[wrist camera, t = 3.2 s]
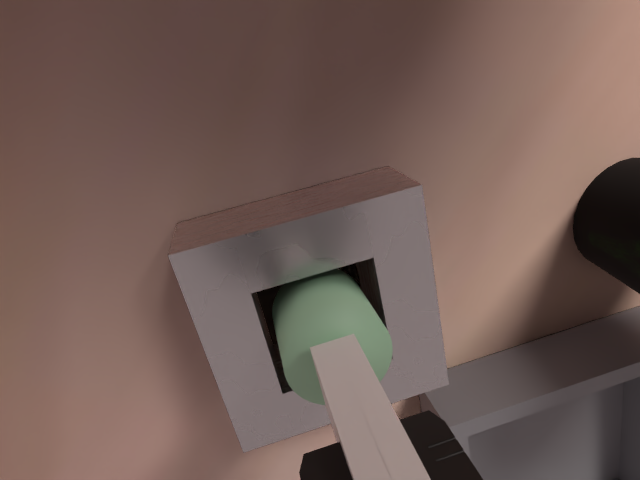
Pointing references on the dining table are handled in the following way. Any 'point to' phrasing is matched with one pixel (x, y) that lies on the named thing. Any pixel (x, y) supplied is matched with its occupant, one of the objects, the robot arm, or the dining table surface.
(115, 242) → the dining table surface
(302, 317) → the button
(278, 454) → the dining table surface
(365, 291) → the grey square socket block
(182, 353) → the dining table surface
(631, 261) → the cup
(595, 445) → the grey divided tray
